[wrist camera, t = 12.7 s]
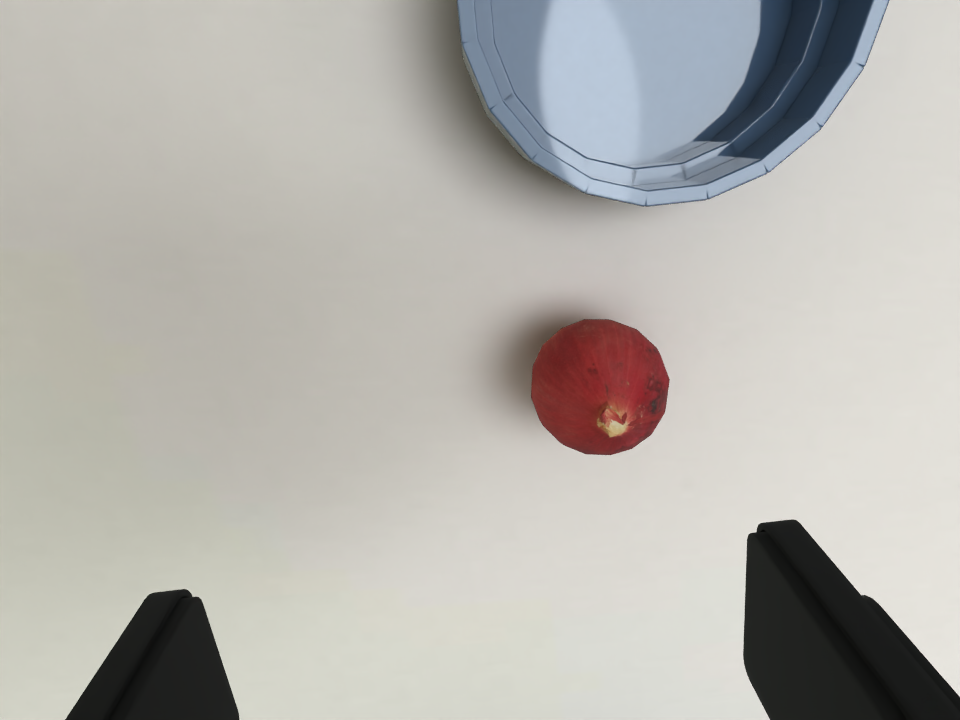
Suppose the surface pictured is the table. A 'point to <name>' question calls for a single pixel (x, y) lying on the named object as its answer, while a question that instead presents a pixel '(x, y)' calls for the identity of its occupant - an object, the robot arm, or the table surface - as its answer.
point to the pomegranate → (599, 386)
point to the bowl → (663, 86)
